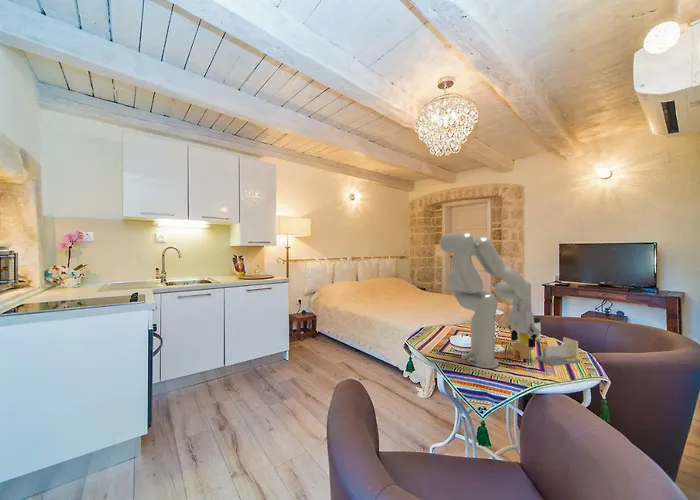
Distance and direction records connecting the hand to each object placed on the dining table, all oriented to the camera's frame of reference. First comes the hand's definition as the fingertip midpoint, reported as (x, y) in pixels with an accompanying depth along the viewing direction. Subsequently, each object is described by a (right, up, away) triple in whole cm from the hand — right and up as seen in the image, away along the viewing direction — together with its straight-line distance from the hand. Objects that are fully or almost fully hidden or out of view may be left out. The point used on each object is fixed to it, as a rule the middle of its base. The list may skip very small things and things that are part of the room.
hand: (522, 343), depth 133 cm
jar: (+22, -6, +28) cm, 37 cm away
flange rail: (+13, -6, -5) cm, 15 cm away
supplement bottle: (+9, -6, +13) cm, 17 cm away
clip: (-1, -6, 0) cm, 6 cm away
